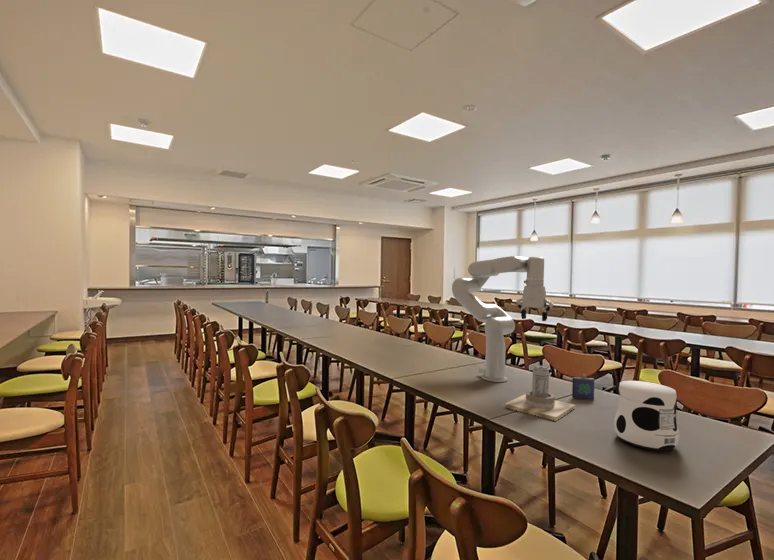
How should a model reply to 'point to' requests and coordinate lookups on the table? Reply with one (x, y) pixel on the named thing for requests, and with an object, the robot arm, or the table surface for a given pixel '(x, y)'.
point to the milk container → (647, 415)
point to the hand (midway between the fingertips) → (533, 319)
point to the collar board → (538, 411)
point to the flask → (583, 387)
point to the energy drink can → (540, 381)
